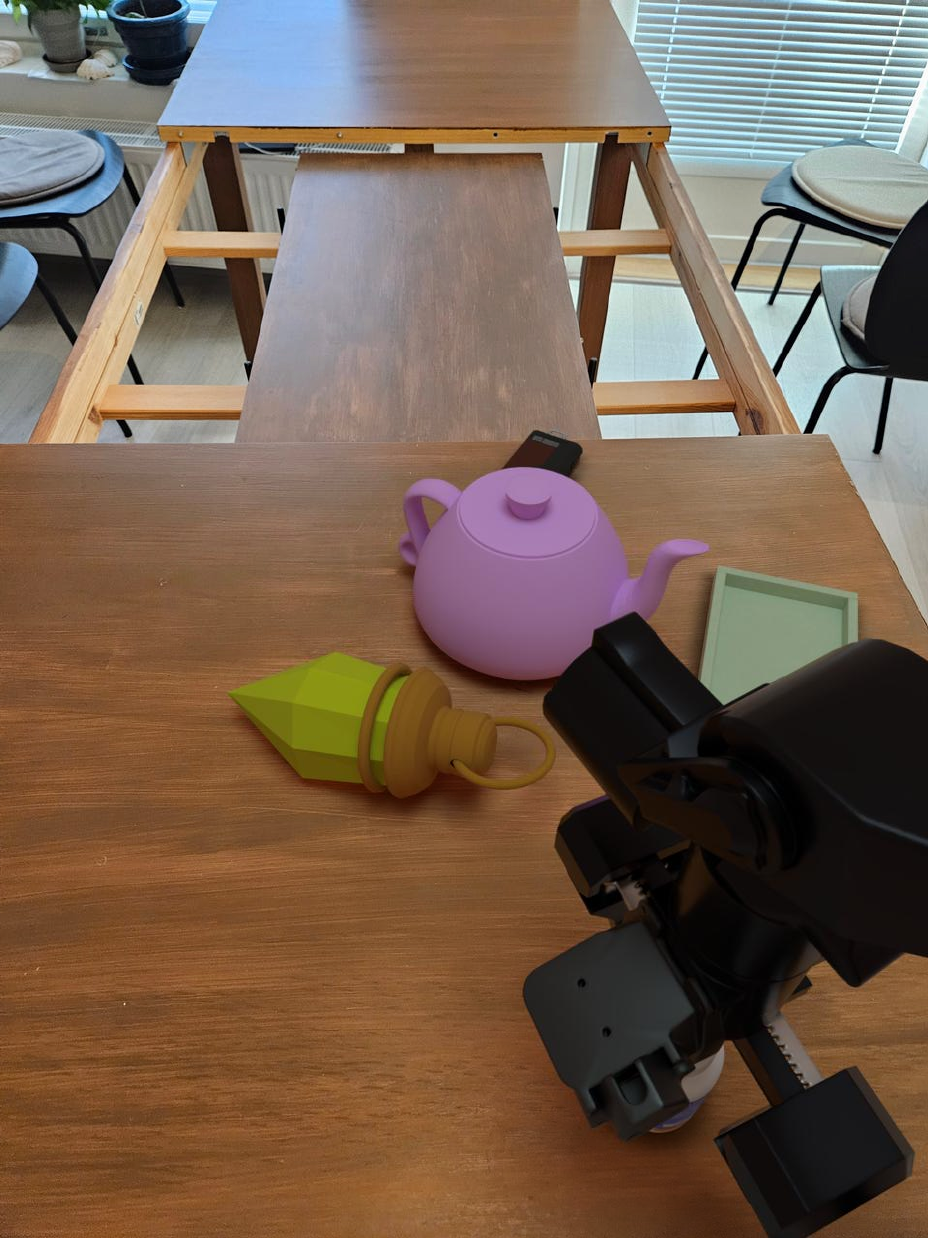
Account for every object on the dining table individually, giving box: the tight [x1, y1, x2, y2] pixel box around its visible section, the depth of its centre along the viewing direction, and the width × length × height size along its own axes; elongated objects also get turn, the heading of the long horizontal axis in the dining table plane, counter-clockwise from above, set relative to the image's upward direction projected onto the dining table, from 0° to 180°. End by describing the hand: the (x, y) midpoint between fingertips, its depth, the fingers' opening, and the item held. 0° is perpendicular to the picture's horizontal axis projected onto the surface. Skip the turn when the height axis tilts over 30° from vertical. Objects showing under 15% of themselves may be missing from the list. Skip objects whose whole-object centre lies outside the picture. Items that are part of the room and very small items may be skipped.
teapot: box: [397, 467, 710, 681], centre depth 70 cm, size 25×18×14 cm
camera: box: [500, 428, 584, 477], centre depth 86 cm, size 6×3×11 cm
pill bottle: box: [649, 1043, 725, 1134], centre depth 47 cm, size 5×5×10 cm
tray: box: [697, 564, 859, 705], centre depth 67 cm, size 28×12×2 cm, turn 163°
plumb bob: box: [226, 651, 557, 799], centre depth 62 cm, size 9×9×25 cm
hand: (676, 1040), depth 45 cm, fingers open, 9 cm apart
